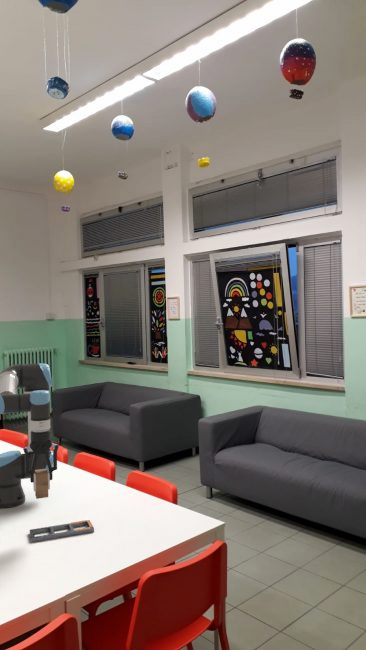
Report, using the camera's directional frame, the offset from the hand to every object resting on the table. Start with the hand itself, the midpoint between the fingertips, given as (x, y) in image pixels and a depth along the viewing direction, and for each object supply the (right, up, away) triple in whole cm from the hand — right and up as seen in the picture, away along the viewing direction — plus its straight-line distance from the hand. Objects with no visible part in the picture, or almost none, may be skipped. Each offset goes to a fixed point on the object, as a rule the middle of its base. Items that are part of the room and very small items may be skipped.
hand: (41, 489), depth 199 cm
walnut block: (0, -3, 0) cm, 3 cm away
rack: (+7, -18, +3) cm, 20 cm away
